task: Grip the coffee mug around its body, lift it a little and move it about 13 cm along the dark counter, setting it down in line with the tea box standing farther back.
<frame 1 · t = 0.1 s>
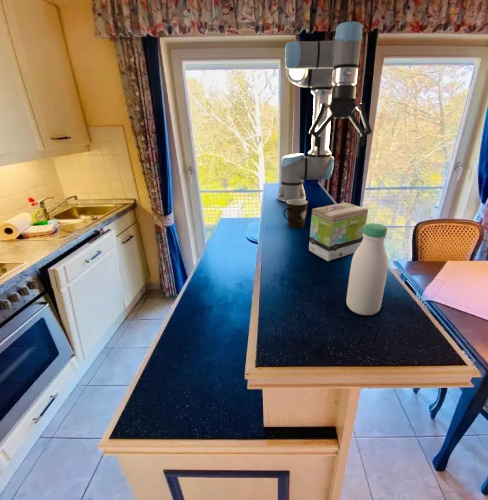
hand: (337, 156, 96), 28 cm above the table, tool pointing down, fingers open, 13 cm apart
milk bottle: (362, 306, 66), on the table
tea box: (335, 251, 93), on the table
coffee mug: (293, 226, 115), on the table
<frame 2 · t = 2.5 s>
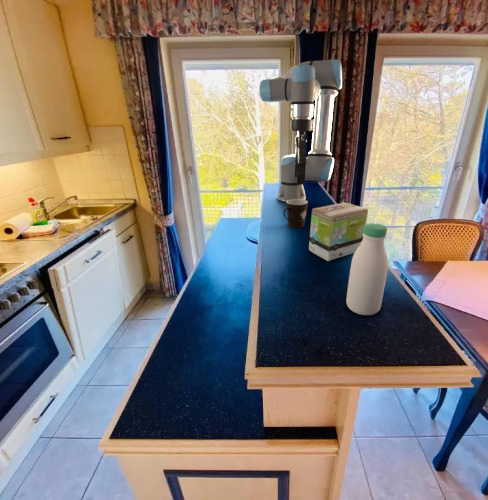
hand: (299, 180, 106), 19 cm above the table, tool pointing down, fingers open, 13 cm apart
nothing on the table moved.
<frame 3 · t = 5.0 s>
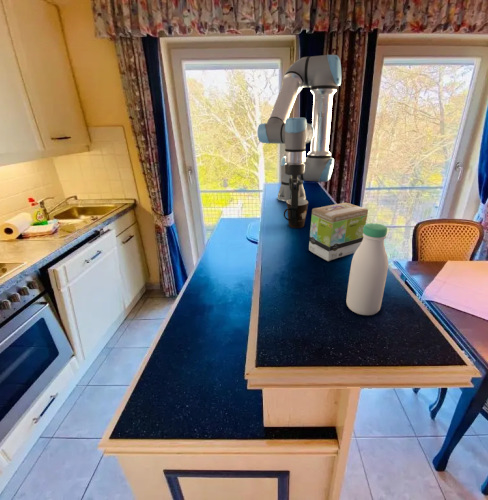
hand: (293, 221, 114), 2 cm above the table, tool pointing down, fingers closed on coffee mug, 7 cm apart
coffee mug: (293, 226, 115), on the table, touching gripper
everything else where it was.
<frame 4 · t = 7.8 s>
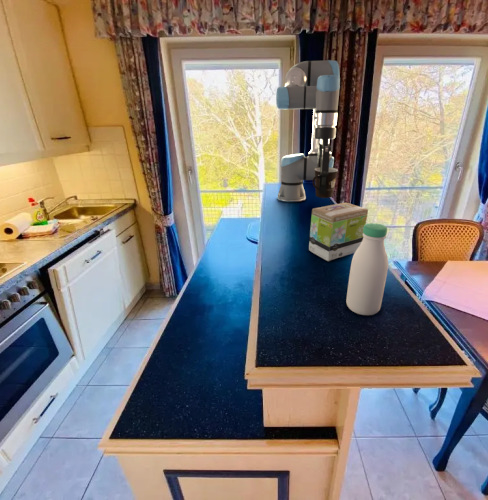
hand: (320, 191, 108), 14 cm above the table, tool pointing down, fingers closed on coffee mug, 7 cm apart
coffee mug: (320, 196, 109), point 12 cm above the table, touching gripper
everything else where it was.
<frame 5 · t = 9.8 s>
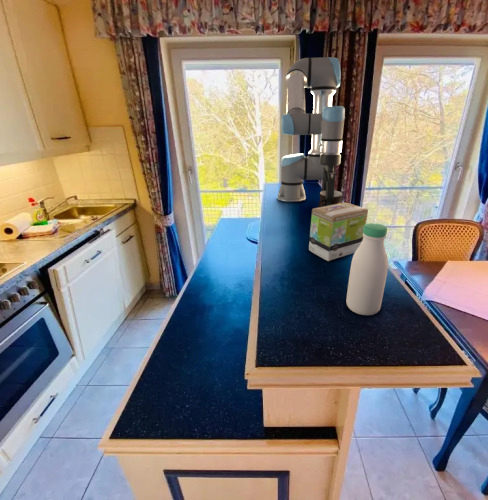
hand: (325, 213, 112), 5 cm above the table, tool pointing down, fingers closed on coffee mug, 7 cm apart
coffee mug: (325, 218, 113), point 3 cm above the table, touching gripper
everything else where it was.
when the fingers open (2 cm above the table, at t = 11.1 s): coffee mug moves 3 cm, on the table.
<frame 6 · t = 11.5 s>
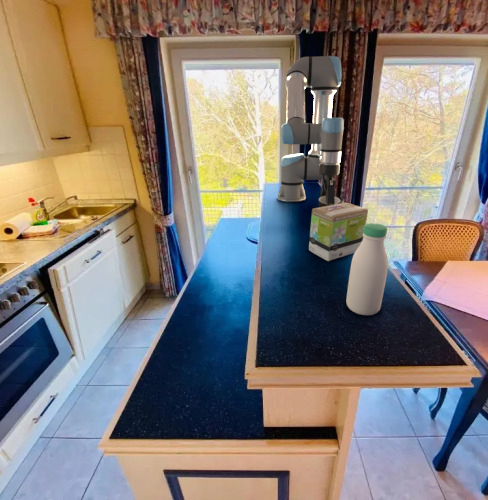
hand: (325, 218, 113), 3 cm above the table, tool pointing down, fingers open, 12 cm apart
coffee mug: (323, 223, 117), on the table, touching gripper
everything else where it was.
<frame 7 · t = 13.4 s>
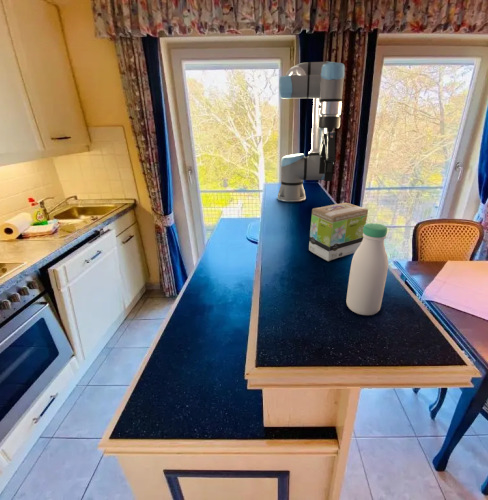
hand: (325, 177, 107), 20 cm above the table, tool pointing down, fingers open, 13 cm apart
coffee mug: (328, 215, 118), point 3 cm above the table
everything else where it was.
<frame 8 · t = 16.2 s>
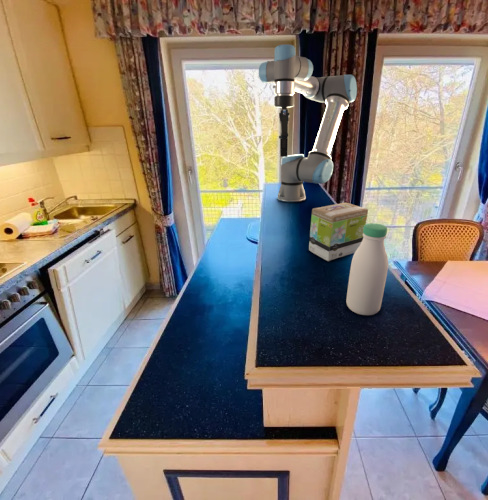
hand: (283, 154, 115), 27 cm above the table, tool pointing down, fingers open, 13 cm apart
nothing on the table moved.
at the end: coffee mug inside the target area on the table beside the tea box (4.0 cm from its centre), point 3.2 cm above the table; coffee mug moved 16.0 cm from its start; the gripper is holding nothing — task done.
